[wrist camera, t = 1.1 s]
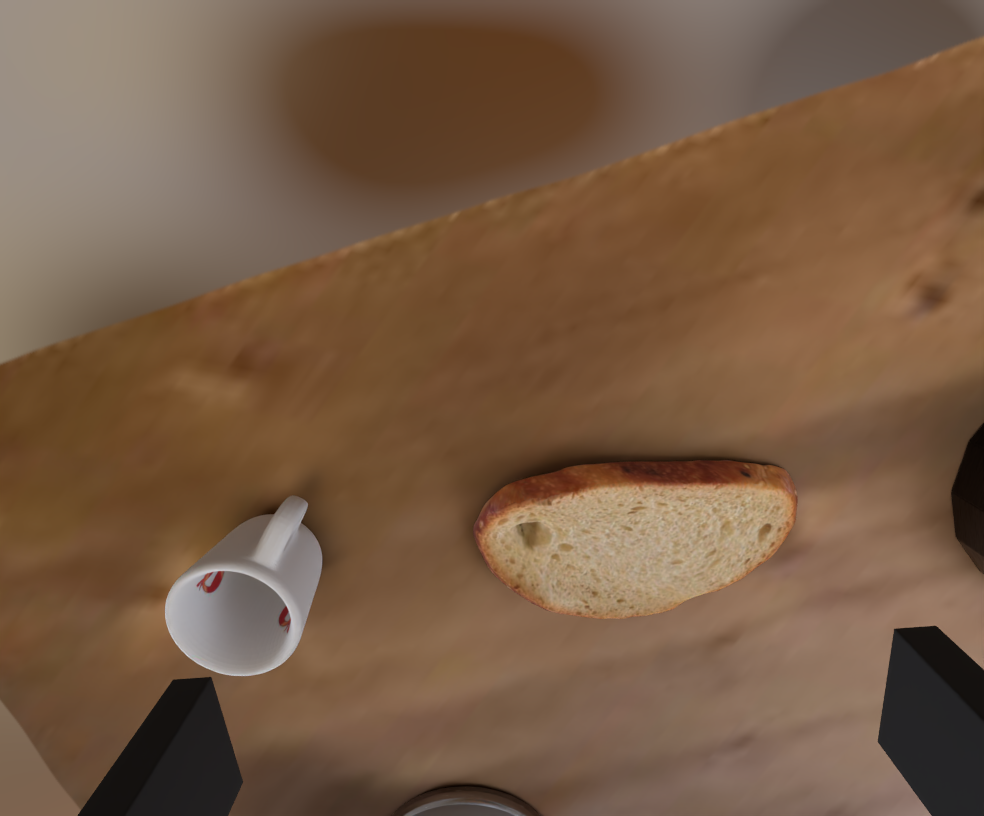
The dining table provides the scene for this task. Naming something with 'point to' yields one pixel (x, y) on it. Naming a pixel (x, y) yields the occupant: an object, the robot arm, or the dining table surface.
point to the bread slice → (634, 533)
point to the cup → (248, 594)
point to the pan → (971, 500)
